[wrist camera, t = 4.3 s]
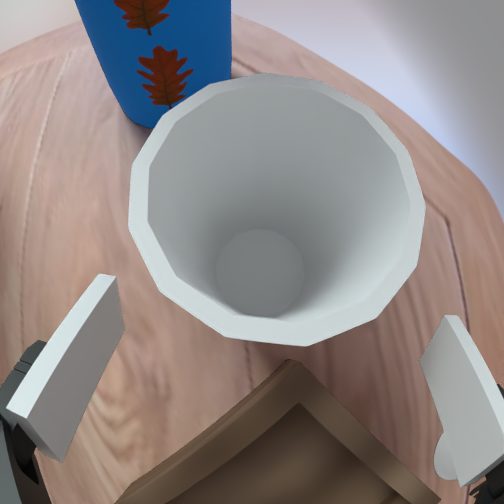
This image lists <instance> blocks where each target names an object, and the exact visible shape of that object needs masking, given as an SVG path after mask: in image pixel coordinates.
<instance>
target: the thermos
mask: <svg viewBox="0 0 504 504" xmlns="http://www.w3.org/2000/svg"><path fill="white" fill-rule="evenodd" d="M75 3H76V5H77V8H78V10H79V13H80V16H81V18H82V21H83V23H84V26H85V29H86V31H87V34H88V36H89V38H90V41H91V43H92V46H93V48H94V51H95V53H96V55H97V58H98V60H99V62H100V65H101V67H102V70H103V72H104V74H105V76H106V79H107V81H108V83H109V86H110V88H111V89H112V91H113V93H114V95H115V97H116V99H117V100H118V102H119V104H120V106H121V108H122V110H123V111H124V113H125V114H126V115H127V116H128V117H129V118H130V119H131V120H132V121H133V122H134V123H137V124H140V125H142V126H145V127H148V128H155V126H156V125H157V123H158V122H159V120H160V118H161V117H162V115H164V114H165V113H167V112H168V111H170V110H171V109H172V108H174V107H175V106H177V105H178V104H180V103H181V102H183V101H184V100H186V99H187V98H189V97H190V96H192V95H193V94H195V93H196V92H198V91H200V90H201V89H203V88H204V87H206V86H208V85H209V84H212V83H217V82H221V81H226V80H230V79H231V62H232V47H231V0H75Z"/></svg>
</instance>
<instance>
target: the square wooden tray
mask: <svg viewBox="0 0 504 504" xmlns="http://www.w3.org/2000/svg"><path fill="white" fill-rule="evenodd" d="M440 501H441V499H440V498H439V497H438V496H437V495H436V494H435V493H434V492H433V491H432V490H430V489H429V488H428V487H427V486H426V485H425V484H424V483H423V482H422V481H421V480H420V479H418V478H417V477H416V476H415V475H414V474H413V473H412V472H411V471H410V470H409V469H408V468H407V467H406V466H404V465H403V464H402V463H401V462H400V461H399V460H398V459H397V458H396V457H395V456H394V455H393V454H392V453H391V452H390V451H389V450H388V449H386V448H385V447H384V446H383V445H382V444H381V443H380V442H379V441H378V440H377V439H376V438H375V437H374V436H373V435H372V434H371V433H370V432H369V431H368V430H367V429H366V428H365V427H364V426H363V425H362V424H361V423H360V422H359V421H358V420H357V419H356V418H355V417H354V416H353V415H352V414H351V413H350V412H349V411H348V410H347V409H346V408H345V407H344V406H343V405H342V404H341V403H340V402H339V401H338V400H337V399H336V398H335V397H334V396H333V395H332V394H331V393H330V392H329V391H328V390H327V389H326V388H325V387H324V386H323V385H322V384H321V383H320V382H319V381H318V380H317V379H316V378H315V377H314V376H313V375H312V374H311V373H310V372H309V371H308V370H307V369H306V368H305V367H304V366H303V365H302V364H301V363H299V362H296V361H294V360H291V359H288V360H287V361H286V362H285V363H283V364H282V365H281V366H280V367H279V368H278V369H277V370H276V371H275V372H274V373H272V374H271V375H270V376H269V377H268V378H267V379H266V380H265V381H264V382H262V383H261V384H260V385H259V386H258V387H257V388H256V389H254V390H253V391H252V392H251V393H250V394H249V395H247V396H246V397H245V398H244V399H243V400H242V401H240V402H239V403H238V404H237V405H236V406H234V407H233V408H232V409H231V410H230V411H228V412H227V413H226V414H225V415H224V416H222V417H221V418H220V419H219V420H217V421H216V422H215V423H214V424H212V425H211V426H210V427H209V428H207V429H206V430H205V431H204V432H202V433H201V434H200V435H198V436H197V437H196V438H194V439H193V440H192V441H191V442H189V443H188V444H187V445H185V446H184V447H183V448H181V449H180V450H179V451H177V452H176V453H174V454H173V455H172V456H170V457H169V458H168V459H166V460H165V461H163V462H162V463H161V464H159V465H158V466H156V467H155V468H153V469H152V470H151V471H149V472H148V473H146V474H145V475H143V476H142V477H140V478H139V479H137V480H136V481H134V482H133V483H131V485H130V486H129V487H128V488H127V489H126V491H125V492H124V493H123V494H122V495H121V496H120V498H119V499H118V500H117V501H116V502H115V504H438V503H439V502H440Z"/></svg>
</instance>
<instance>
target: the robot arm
mask: <svg viewBox="0 0 504 504" xmlns="http://www.w3.org/2000/svg"><path fill="white" fill-rule="evenodd" d="M124 331H125V327H124V322H123V316H122V311H121V305H120V298H119V292H118V285H117V278H116V276H110V275H105V274H98V276H97V277H96V278H95V279H94V281H93V282H92V283H91V284H90V286H89V287H88V288H87V290H86V291H85V292H84V293H83V295H82V296H81V297H80V299H79V300H78V301H77V303H76V304H75V305H74V307H73V308H72V309H71V311H70V312H69V313H68V315H67V316H66V317H65V319H64V320H63V322H62V323H61V324H60V326H59V327H58V328H57V330H56V331H55V333H54V334H53V336H52V337H51V338H50V340H49V341H48V343H46V342H43V341H40V340H38V341H37V342H35V343H34V344H33V345H31V346H30V347H28V348H27V350H26V351H25V352H24V354H23V355H22V357H21V358H20V361H18V362H17V364H16V365H15V367H14V370H12V371H11V373H10V374H9V376H8V377H7V379H6V380H5V382H4V383H3V385H2V387H1V388H0V504H52V503H51V501H50V498H49V495H48V493H47V490H46V487H45V484H44V481H43V478H42V475H41V472H40V469H39V466H38V463H37V459H36V457H35V455H34V451H35V448H36V447H37V448H38V449H39V450H40V451H41V452H42V453H43V454H44V455H46V456H48V457H50V458H53V459H55V460H57V461H59V462H62V463H63V460H64V458H65V456H66V453H67V451H68V448H69V446H70V444H71V441H72V439H73V437H74V434H75V432H76V430H77V428H78V425H79V423H80V421H81V419H82V417H83V414H84V412H85V410H86V408H87V406H88V403H89V401H90V399H91V397H92V395H93V393H94V391H95V389H96V387H97V385H98V382H99V380H100V378H101V376H102V374H103V372H104V370H105V368H106V366H107V364H108V362H109V360H110V358H111V356H112V354H113V352H114V350H115V348H116V346H117V345H118V343H119V341H120V339H121V337H122V335H123V333H124ZM419 363H420V365H421V368H422V370H423V373H424V376H425V378H426V381H427V383H428V386H429V389H430V392H431V394H432V397H433V400H434V403H435V406H436V408H437V411H438V414H439V417H440V420H441V423H442V426H443V429H444V433H445V436H446V439H447V442H448V446H449V449H450V452H451V456H452V459H453V463H454V466H455V470H456V474H457V478H458V481H459V485H460V487H463V486H467V485H470V484H473V483H475V482H477V481H478V480H480V479H481V478H482V477H484V476H486V481H484V482H483V483H482V484H480V485H479V486H477V487H476V488H474V489H473V490H472V491H471V492H470V494H469V495H470V496H471V495H473V494H474V493H476V492H477V491H479V493H477V494H476V495H475V496H474V498H476V501H475V503H474V504H504V389H503V388H502V387H501V386H500V385H499V384H496V382H495V380H494V378H493V376H492V375H491V373H490V371H489V369H488V367H487V365H486V363H485V361H484V359H483V358H482V356H481V354H480V352H479V350H478V349H477V347H476V345H475V343H474V342H473V340H472V338H471V336H470V335H469V333H468V331H467V330H466V328H465V326H464V325H463V323H462V321H461V320H460V318H459V316H457V315H444V317H443V319H442V321H441V323H440V325H439V327H438V328H437V330H436V332H435V334H434V336H433V338H432V339H431V341H430V343H429V345H428V346H427V348H426V350H425V352H424V353H423V355H422V357H421V358H420V360H419Z"/></svg>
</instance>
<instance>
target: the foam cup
mask: <svg viewBox="0 0 504 504" xmlns="http://www.w3.org/2000/svg"><path fill="white" fill-rule="evenodd" d="M425 209H426V205H425V202H424V198H423V195H422V191H421V188H420V185H419V182H418V179H417V175H416V172H415V169H414V166H413V163H412V161H411V158H410V155H409V152H408V150H407V149H406V148H405V147H404V145H403V144H402V143H401V142H400V141H399V139H398V138H397V137H396V136H395V135H394V134H393V132H392V131H391V130H390V129H389V128H388V127H387V125H386V124H385V123H384V122H383V121H382V120H381V119H380V118H379V116H378V115H377V114H376V113H375V112H374V111H373V110H372V109H371V108H370V107H368V106H366V105H365V104H363V103H361V102H359V101H358V100H356V99H354V98H352V97H350V96H348V95H347V94H345V93H343V92H341V91H339V90H337V89H335V88H333V87H331V86H330V85H328V84H326V83H324V82H322V81H317V80H311V79H306V78H299V77H293V76H286V75H279V74H271V73H261V74H255V75H250V76H245V77H240V78H235V79H230V80H226V81H221V82H217V83H212V84H209V85H208V86H206V87H204V88H203V89H201V90H200V91H198V92H196V93H195V94H193V95H192V96H190V97H189V98H187V99H186V100H184V101H183V102H181V103H180V104H178V105H177V106H175V107H174V108H172V109H171V110H170V111H168V112H167V113H165V114H164V115H162V117H161V118H160V120H159V122H158V123H157V125H156V126H155V128H154V129H153V131H152V133H151V134H150V136H149V137H148V139H147V141H146V142H145V144H144V146H143V147H142V149H141V151H140V152H139V154H138V156H137V157H136V159H135V161H134V162H133V164H132V170H131V184H130V199H129V220H128V228H129V231H130V233H131V235H132V237H133V239H134V241H135V243H136V245H137V247H138V249H139V252H140V254H141V256H142V258H143V260H144V262H145V264H146V266H147V268H148V270H149V272H150V274H151V276H152V278H153V280H154V281H155V283H156V285H157V287H158V289H159V291H160V292H161V293H162V294H164V295H165V296H167V297H168V298H169V299H171V300H172V301H174V302H175V303H176V304H178V305H179V306H181V307H182V308H183V309H185V310H186V311H188V312H189V313H191V314H192V315H193V316H195V317H196V318H198V319H199V320H201V321H202V322H204V323H205V324H207V325H208V326H210V327H211V328H213V329H214V330H216V331H217V332H219V333H220V334H222V335H223V336H225V337H227V338H232V339H239V340H247V341H255V342H263V343H272V344H281V345H291V346H309V345H312V344H315V343H317V342H320V341H322V340H325V339H327V338H330V337H332V336H335V335H337V334H340V333H342V332H345V331H347V330H350V329H352V328H354V327H357V326H359V325H361V324H364V323H366V322H368V321H371V320H373V319H375V318H377V317H378V315H379V314H380V313H381V312H382V311H383V309H384V308H385V307H386V306H387V304H388V303H389V302H390V301H391V299H392V298H393V297H394V295H395V294H396V293H397V292H398V290H399V289H400V288H401V286H402V285H403V284H404V283H405V281H406V280H407V279H408V277H409V276H410V275H411V273H412V272H413V270H414V269H415V268H416V266H417V262H418V257H419V251H420V245H421V239H422V232H423V225H424V217H425Z"/></svg>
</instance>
